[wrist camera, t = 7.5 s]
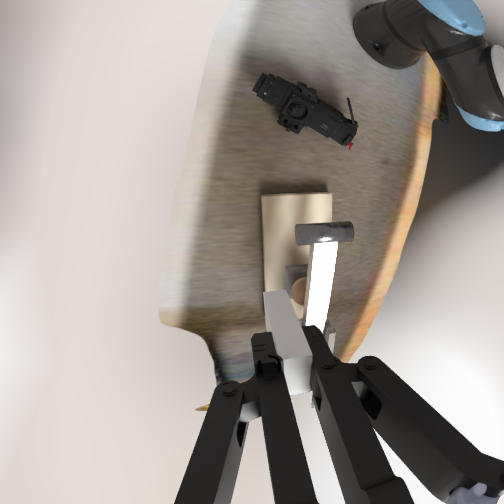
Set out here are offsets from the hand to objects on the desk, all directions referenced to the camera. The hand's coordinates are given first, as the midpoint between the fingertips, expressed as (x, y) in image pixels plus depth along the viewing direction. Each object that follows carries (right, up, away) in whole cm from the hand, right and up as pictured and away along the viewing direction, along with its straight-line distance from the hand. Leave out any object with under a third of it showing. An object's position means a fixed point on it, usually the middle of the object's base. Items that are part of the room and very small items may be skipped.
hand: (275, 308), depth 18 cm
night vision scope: (+7, +27, +24) cm, 37 cm away
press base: (+6, +3, +32) cm, 33 cm away
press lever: (+8, -1, +21) cm, 22 cm away
